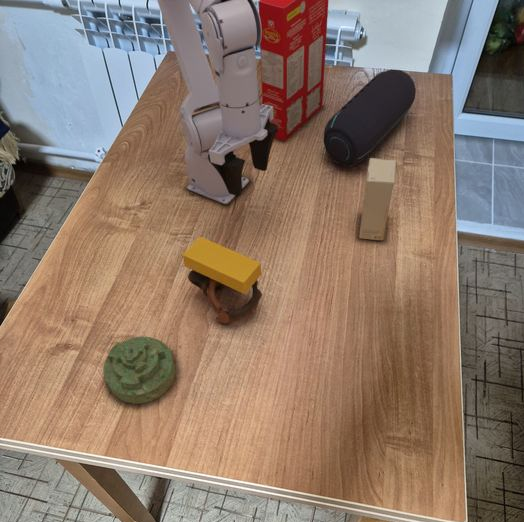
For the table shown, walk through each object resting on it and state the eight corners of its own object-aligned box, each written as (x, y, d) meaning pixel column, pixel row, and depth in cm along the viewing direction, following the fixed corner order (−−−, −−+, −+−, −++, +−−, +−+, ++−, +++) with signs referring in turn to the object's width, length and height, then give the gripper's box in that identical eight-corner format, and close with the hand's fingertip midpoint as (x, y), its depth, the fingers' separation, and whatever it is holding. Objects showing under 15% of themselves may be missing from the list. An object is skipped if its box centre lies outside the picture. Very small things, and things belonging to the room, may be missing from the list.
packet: (184, 266, 78) (182, 254, 76) (202, 248, 80) (200, 236, 78) (245, 294, 74) (243, 283, 72) (261, 274, 76) (260, 262, 74)
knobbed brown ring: (264, 280, 86) (270, 269, 78) (249, 334, 85) (253, 328, 77) (195, 259, 85) (194, 246, 77) (179, 313, 84) (175, 305, 76)
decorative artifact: (100, 400, 74) (167, 407, 73) (83, 375, 68) (156, 382, 67) (119, 343, 79) (181, 349, 78) (105, 316, 74) (173, 321, 73)
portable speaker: (374, 103, 113) (380, 56, 105) (415, 116, 110) (425, 69, 101) (313, 163, 102) (315, 116, 94) (357, 180, 99) (363, 133, 90)
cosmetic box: (383, 241, 89) (395, 184, 79) (357, 238, 90) (366, 181, 80) (385, 217, 93) (397, 159, 83) (361, 214, 93) (369, 156, 83)
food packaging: (302, 100, 115) (305, -31, 94) (322, 107, 113) (330, -25, 92) (263, 133, 108) (258, 1, 88) (284, 141, 107) (283, 8, 86)
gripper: (233, 129, 68) (243, 212, 79) (288, 81, 75) (291, 164, 86) (191, 117, 71) (207, 200, 81) (248, 72, 78) (256, 153, 88)
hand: (248, 181), depth 84 cm, fingers open, 7 cm apart
